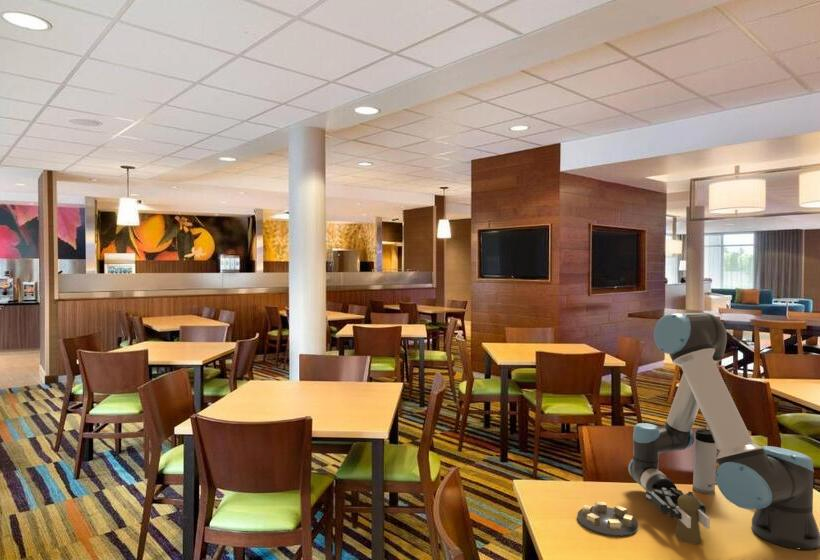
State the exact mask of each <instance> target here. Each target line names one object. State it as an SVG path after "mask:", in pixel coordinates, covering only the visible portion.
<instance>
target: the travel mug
mask: <svg viewBox="0 0 820 560" xmlns="http://www.w3.org/2000/svg"><path fill="white" fill-rule="evenodd" d="M717 454H718V448H717V445H716V443H715V441H714V439H713V437H712V434H711V432H710V430H709V428H707V429H705V428H702V429H697V430H696V431H695V437H694V455H693V456H694V458H693V475H692V476H693V477H692V479H693V480H692V482H693V483H692V488H693V490H695V491H696V492H698V493H700V494H704V495H713V494H715V492H716V475H717V473H716V471H717V460H716V456H717Z"/></svg>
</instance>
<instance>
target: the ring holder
mask: <svg viewBox="0 0 820 560" xmlns="http://www.w3.org/2000/svg"><path fill="white" fill-rule="evenodd" d="M613 507H614V508H613ZM613 507H608V505H607V503H606V502H605V501H594V506H593V505H589V504H584V505H583V506H582V508H581V509H579V510H578V512H577V521H578V523H579V524H580V525H581V526H582V527H584V528H586V529H587V530H589V531H591V532H592V533H593V532H594V533H596V534H600V535H603V536H607V537H616V538H617V537H621V538H623V537H629V536H632V535H634V534H636V533H637V532H638V530H639V523H638V520H637V519H636V518H635V517H633V515H631V514H629V513H628V508H625V507H623V506H621V505H615V506H613Z"/></svg>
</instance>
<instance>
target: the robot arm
mask: <svg viewBox="0 0 820 560" xmlns="http://www.w3.org/2000/svg"><path fill="white" fill-rule="evenodd" d="M653 329H654V330H653V340H654V344H655V345H656V347H657V348H658V350H660V351H661V352H663V353H664V354H668V355H669V356H670V359H671V361H672V364H674V365H676V366H678V367H680V368H681V371H682V375H681V378H680V381H679V383H678V385H677V389H676V392H675V395H674V398H673V399H672V400H673V401H672V404H671V407H670V410H669V412H668V415H667V418H666V421H665V424H664V426H663V427H660V428H659V426H657V425H655V424H654V423H653V424H652V423H647V422H645V423H642V422H641V423H636V424H635V425H634V426H633V434H632V443H633V444H632V459H631V460H630V461H629V463H628V467H627V468H628V469H627V470H628V473H629V475H630V476H631V478H632V479H633V480H634V481H635V482H636V483H637V484H639V486H640V487H642V489H643V490H645V500H646V501H648V502H650V503H651V504H652V505H653V506H655V508H657V509H658V510H659V511H660V512H661V513H662V514H664V515H667V514H669V515H670V516H669V517H670V519H677V520H678V519H679V520H680V521H681V522H682V523H683V524H684V525H685V526H686V527H687V528H691V517H690V516H689V515H688V514H686V513H685V512H684V511H683V510H682V509H681V508H680V507H679V506H678V502H677V500H678V498H679V496H681V495H690V496H693V497H695V498H696V499H698V498H697V497H696V496H695V495H694V492H692V491H688V492H687V493H684V492H683V491H682V490H680V489H678V487H677V486H676V485H675V483H674V481H672V480H671V479H670V478H668V476H666V474H664V473H663V472H662V471H661V470H659V461H660V458H659V457H660V454H663V453H668V452H669V453H670V452H676V451H683V450H685V449H688V448H691V447H692V446H693V444H695V437H694V433H693V431H692V428H693V426H694V424H695V421H696V418H697V415H698V412H699V410H700V411H701V412H700V413H701V414H702V416H703V419H704V421H705V424H706V426H707V429H708V430H710V432H711V434H712V437H713V439H714V441H715V443H716V445H717V456H716V463H717V465H718V468H716V478H715V484H716V486H717V487H718V489H719V491H720V493H721V494H722V495H723V496H724V498H725V499H726V500H727V501H728V502H729V503H732V504H733V505H735V506H736V507H738V508H741V509H744V510H755V511H754V513H753V515H752V518H751V530H752V532H753V533H754V534H756V535H757V537H760V538H761V539H763V540H765V541H767V542H770V543H772V544H775V545H778V546H781V547H784V546H785V547H786V548H788V547H790V548H789V549H793V548H800V549H813V550H816V549H815V548H817V549H819V548H820V530H819V527H818V525H817V521H816V518H815V516H814V514H813V513H814V511H813V509H814V507H813V505H814V503H813V502H814V473H815V470H814V462H813V460H812V458H811V457H810V456H808V455H807V454H804V453H801V452H799V451H795V450H792V449H787V448H783V447H778V446H769V445H762V446H761V445H759V444H757V443H756V442H754V441H753V438H752V437H751V434H750V433H749V430H748V429H747V427H746V424H745V422H744V420H743V417H742V416H741V414H740V412H739V410H738V407H737V406H736V403H735V401H734V399H733V397H732V395H731V393H730V391H729V390H728V386H727V385H726V383H725V381H724V379H723V377H722V374H721V373H720V371H719V368H718V366H717V363H718V362H721V361H722V359H723V356H724V354H725V351H726V348H727V347H726V346H727V342H728V341H727V340H728V335H727V330H726V327H725V325H724V323H723V322H722V321H721V320H720V318H719V317H717V316H715V315H713V314H711V313H708V312H674V313H668V314H665V315H663V316H661V317H660V318H659V319H658V321H657V322H656V324H655V328H653ZM698 501H699V504H700V507H699V510H698V511H697V514H698V522H699V523H700V524H701V525H702V526H703V527H704V528H705V529H707V530H708V529H709V530H710V528H711V524H710V523H711V521H710V520H711V518H710V517H709V516H708V515H707V513H706V511H707V510H706V508H707V507H706V505H705V504H704V503H703V502H702V501H700V500H699V499H698ZM818 547H819V548H818ZM800 549H799V550H800Z"/></svg>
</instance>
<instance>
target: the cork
mask: <svg viewBox="0 0 820 560" xmlns="http://www.w3.org/2000/svg"><path fill="white" fill-rule="evenodd" d="M695 497H696V496H695ZM695 497H693V496H690V495H681V496H679V498H678V500H677V502H678V506H679V507H680V508H681V509H682V510H683V511H684V512H685V513H686V514H688V515H689V516H690V517H691V528H687V527H686V526H685V525H684V524H683V523H682V522H681V521H680V520H679V519H677V523H676V529H675V537H676V539H677V540H679V541H681V542H684V543H687V544H692V545H693V544H694V545H696V544H700V543H701V542H702V539H701V538H702V537H701V530H700V524H699V523H700V522H699V521H698V514H697V511H698V510H699V507H700V504H699V501H700V500H699V498H697V497H696V498H697V499H696V498H695ZM698 500H699V501H698Z"/></svg>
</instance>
